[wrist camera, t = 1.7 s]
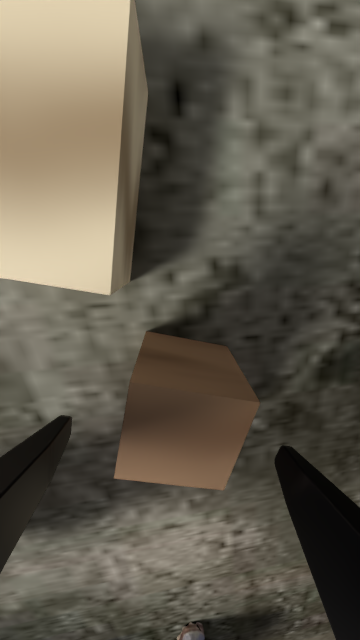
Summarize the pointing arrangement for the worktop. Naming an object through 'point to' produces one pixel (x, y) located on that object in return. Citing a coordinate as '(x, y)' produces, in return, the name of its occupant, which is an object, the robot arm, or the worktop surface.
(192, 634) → the flask
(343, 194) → the worktop surface
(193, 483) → the walnut cube
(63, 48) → the beech block
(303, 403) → the worktop surface
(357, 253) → the worktop surface
